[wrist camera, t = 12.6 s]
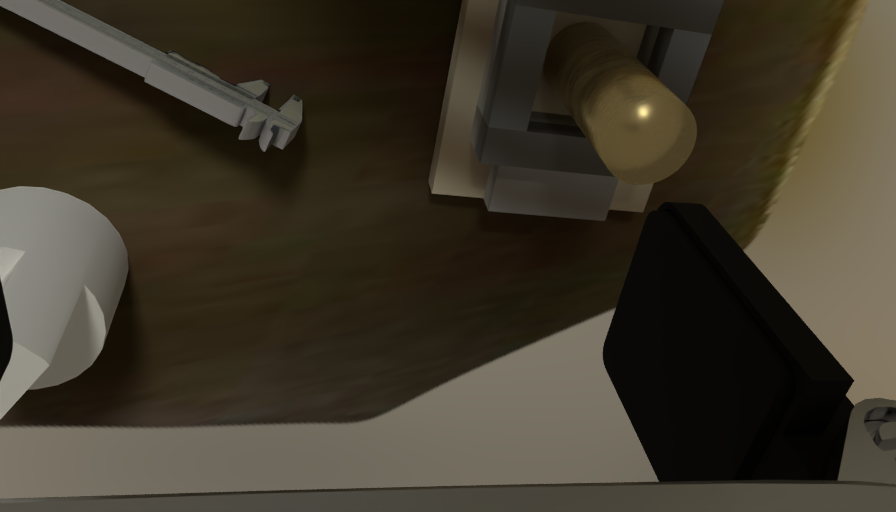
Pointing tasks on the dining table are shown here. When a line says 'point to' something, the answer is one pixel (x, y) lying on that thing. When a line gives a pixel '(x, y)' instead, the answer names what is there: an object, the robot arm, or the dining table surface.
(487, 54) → the gray stepped fixture base
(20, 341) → the cylinder with rectangular tab
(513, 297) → the dining table surface
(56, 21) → the caliper
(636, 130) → the brass pin
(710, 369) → the robot arm
